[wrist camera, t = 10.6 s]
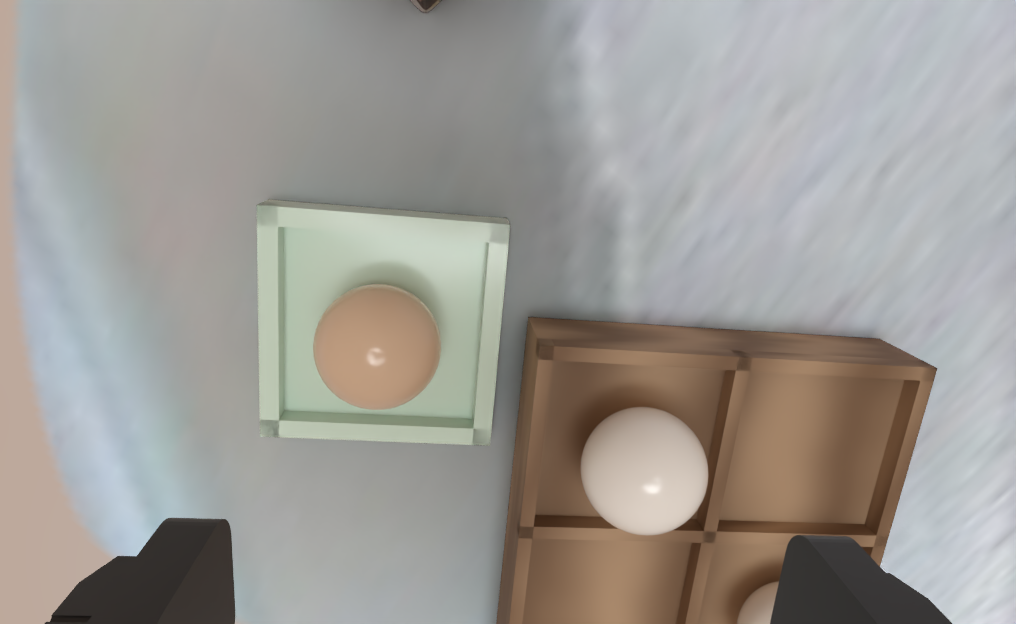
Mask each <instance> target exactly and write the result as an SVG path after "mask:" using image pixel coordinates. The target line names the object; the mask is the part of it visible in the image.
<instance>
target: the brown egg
mask: <svg viewBox="0 0 1016 624" xmlns="http://www.w3.org/2000/svg"><path fill="white" fill-rule="evenodd" d="M313 355H314V361H315V365H316V368H317V371H318V373H319V375H320V377H321V379H322V381H323V382H324V383H325V385H326V386H327V387H328V389H329V390H330V391H331V392H332V393H333V394H335V395H336V396H337V397H338V398H340V399H341V400H343V401H344V402H346V403H348V404H350V405H353V406H356V407H359V408H363V409H369V410H384V409H391V408H395V407H398V406H400V405H403V404H405V403H407V402H409V401H410V400H412V399H413V398H415V397H416V396H418V395H419V394H420V393H421V392H422V391H423V390H424V389H425V388H426V387H427V385H428V384H429V383H430V381H431V380H432V378H433V377H434V375H435V373H436V370H437V368H438V365H439V361H440V356H441V337H440V332H439V328H438V325H437V323H436V320H435V318H434V316H433V315H432V313H431V312H430V310H429V309H428V308H427V306H426V305H425V304H424V303H423V302H422V301H421V300H420V299H419V298H417V297H416V296H415V295H413V294H412V293H410V292H408V291H406V290H404V289H401V288H399V287H396V286H392V285H385V284H371V285H364V286H360V287H357V288H354V289H352V290H349V291H348V292H346V293H344V294H342V295H341V296H340V297H338V298H337V299H336V300H335V301H334V302H333V303H332V304H331V305H330V306H329V307H328V308H327V309H326V310H325V312H324V313H323V315H322V316H321V318H320V320H319V322H318V325H317V328H316V330H315V335H314V341H313Z"/></svg>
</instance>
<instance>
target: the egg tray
mask: <svg viewBox="0 0 1016 624" xmlns="http://www.w3.org/2000/svg"><path fill="white" fill-rule="evenodd" d="M936 371H937V368H936V367H934V366H932V365H930V364H928V363H926V362H924V361H922V360H920V359H918V358H916V357H914V356H912V355H910V354H908V353H906V352H904V351H902V350H900V349H898V348H897V347H895V346H893V345H891V344H889V343H887V342H885V341H883V340H881V339H873V338H857V337H841V336H825V335H809V334H793V333H777V332H761V331H745V330H729V329H713V328H697V327H680V326H664V325H648V324H632V323H616V322H600V321H584V320H568V319H552V318H536V317H528V325H527V334H526V344H525V354H524V363H523V373H522V382H521V392H520V402H519V411H518V421H517V430H516V440H515V450H514V459H513V469H512V478H511V488H510V498H509V507H508V517H507V526H506V536H505V546H504V555H503V565H502V574H501V584H500V594H499V603H498V613H497V622H496V624H737V619H738V616H739V612H740V610H741V607H742V606H743V604H744V602H745V601H746V599H747V598H748V597H749V596H750V595H751V594H752V593H753V592H754V591H755V590H757V589H758V588H760V587H762V586H764V585H766V584H769V583H772V582H777V581H779V579H780V575H781V570H782V566H783V561H784V557H785V552H786V548H787V545H788V543H789V541H790V540H791V538H792V537H794V536H796V535H818V536H847V537H850V538H852V539H854V540H855V541H856V542H857V543H858V544H859V545H860V546H861V547H862V548H863V549H864V550H865V551H866V553H867V554H868V555H869V556H870V557H871V558H872V559H873V560H874V561H875V562H876V563H877V564H878V565H879V567H880V564H881V560H882V557H883V553H884V550H885V547H886V543H887V540H888V536H889V533H890V529H891V526H892V522H893V519H894V516H895V512H896V509H897V505H898V502H899V498H900V495H901V491H902V488H903V485H904V481H905V478H906V474H907V471H908V467H909V464H910V460H911V457H912V454H913V450H914V447H915V443H916V440H917V436H918V433H919V429H920V426H921V423H922V419H923V416H924V412H925V409H926V405H927V402H928V398H929V395H930V392H931V388H932V385H933V381H934V378H935V374H936ZM633 407H651V408H656V409H660V410H663V411H666V412H668V413H670V414H672V415H674V416H676V417H677V418H679V419H680V420H681V421H683V422H684V423H685V424H686V425H687V426H688V427H689V428H690V429H691V430H692V431H693V432H694V434H695V435H696V436H697V438H698V439H699V441H700V443H701V445H702V447H703V449H704V452H705V455H706V459H707V464H708V484H707V489H706V493H705V496H704V499H703V501H702V503H701V504H700V506H699V508H698V510H697V511H696V512H695V514H694V515H693V516H692V517H691V518H690V519H689V520H688V521H687V522H685V523H684V524H683V525H681V526H680V527H678V528H676V529H674V530H672V531H669V532H667V533H663V534H659V535H648V536H647V535H636V534H631V533H628V532H625V531H623V530H620V529H618V528H616V527H614V526H613V525H611V524H610V523H609V522H607V521H606V520H605V519H604V518H602V517H601V516H600V515H599V513H598V512H597V511H596V510H595V509H594V507H593V506H592V505H591V503H590V501H589V499H588V497H587V495H586V493H585V490H584V487H583V483H582V479H581V457H582V453H583V449H584V446H585V444H586V441H587V439H588V437H589V436H590V434H591V433H592V431H593V430H594V429H595V428H596V427H597V425H598V424H599V423H600V422H602V421H603V420H604V419H605V418H607V417H608V416H610V415H612V414H613V413H615V412H618V411H620V410H623V409H627V408H633Z"/></svg>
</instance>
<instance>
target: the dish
mask: <svg viewBox="0 0 1016 624" xmlns="http://www.w3.org/2000/svg"><path fill="white" fill-rule="evenodd" d="M509 234H510V223H509V222H508V220H507V218H497V217H485V216H472V215H459V214H447V213H434V212H421V211H409V210H396V209H383V208H371V207H358V206H345V205H333V204H320V203H307V202H295V201H282V200H269V199H268V200H266V201H264V202H262V203H260V204H258V205H257V266H258V335H259V404H260V437H285V438H310V439H335V440H360V441H385V442H410V443H436V444H461V445H486V446H490V439H491V428H492V417H493V407H494V396H495V385H496V374H497V363H498V353H499V342H500V331H501V320H502V309H503V298H504V288H505V277H506V266H507V255H508V244H509ZM371 284H385V285H392V286H396V287H399V288H401V289H404V290H406V291H408V292H410V293H412V294H413V295H415V296H416V297H417V298H419V299H420V300H421V301H422V302H423V303H424V304H425V305H426V306H427V308H428V309H429V310H430V312H431V313H432V315H433V316H434V318H435V320H436V323H437V325H438V328H439V332H440V337H441V356H440V361H439V365H438V368H437V370H436V373H435V375H434V377H433V378H432V380H431V381H430V383H429V384H428V385H427V387H426V388H425V389H424V390H423V391H422V392H421V393H420V394H419V395H418V396H416V397H415V398H413V399H412V400H410V401H409V402H407V403H405V404H403V405H400V406H398V407H395V408H391V409H384V410H369V409H363V408H359V407H356V406H353V405H350V404H348V403H346V402H344V401H343V400H341V399H340V398H338V397H337V396H336V395H335V394H333V393H332V392H331V391H330V390H329V389H328V387H327V386H326V385H325V383H324V382H323V381H322V379H321V377H320V375H319V373H318V371H317V368H316V365H315V361H314V355H313V341H314V335H315V330H316V328H317V325H318V322H319V320H320V318H321V316H322V315H323V313H324V312H325V310H326V309H327V308H328V307H329V306H330V305H331V304H332V303H333V302H334V301H335V300H336V299H337V298H338V297H340V296H341V295H342V294H344V293H346V292H348V291H349V290H352V289H354V288H357V287H360V286H364V285H371Z"/></svg>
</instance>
